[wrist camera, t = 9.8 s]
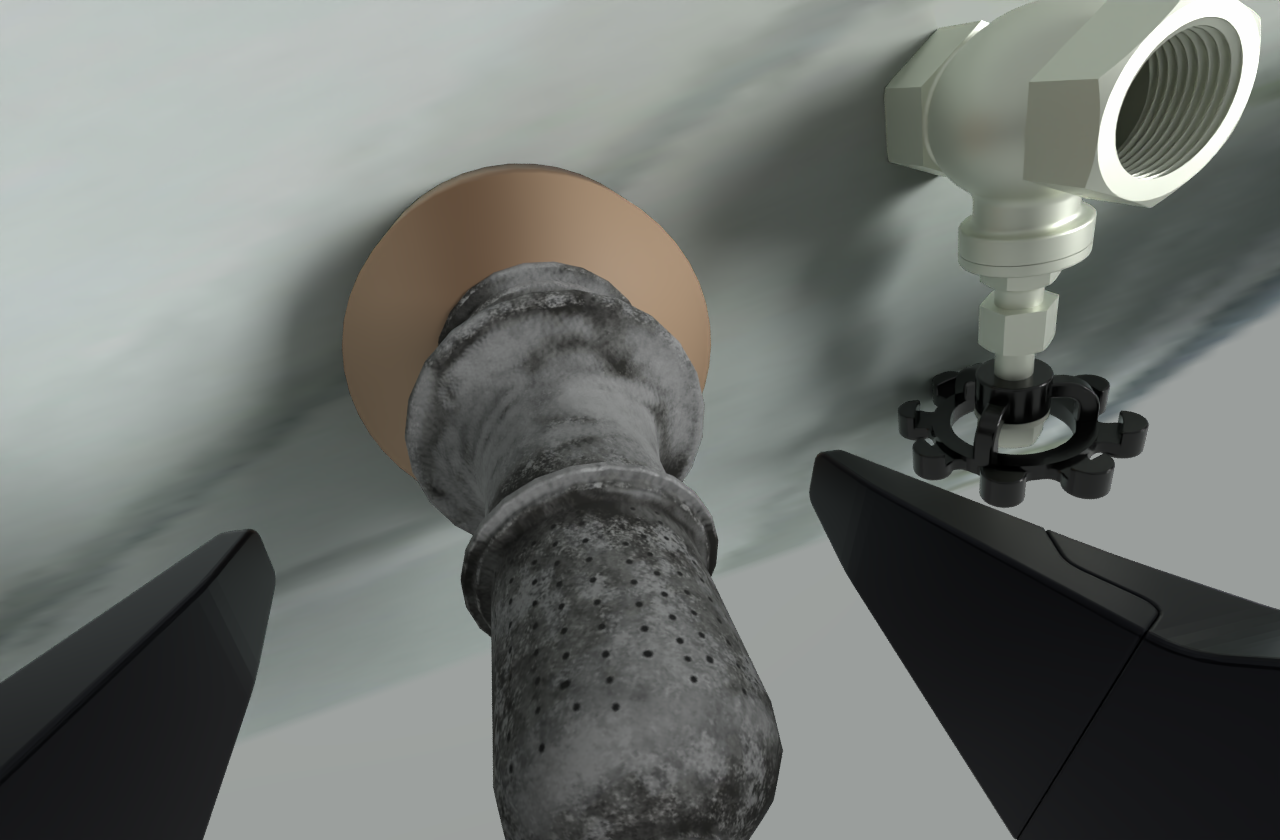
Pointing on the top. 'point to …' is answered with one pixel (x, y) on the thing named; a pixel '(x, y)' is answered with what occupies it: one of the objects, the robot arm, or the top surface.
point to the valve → (1055, 198)
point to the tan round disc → (489, 242)
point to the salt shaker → (591, 565)
